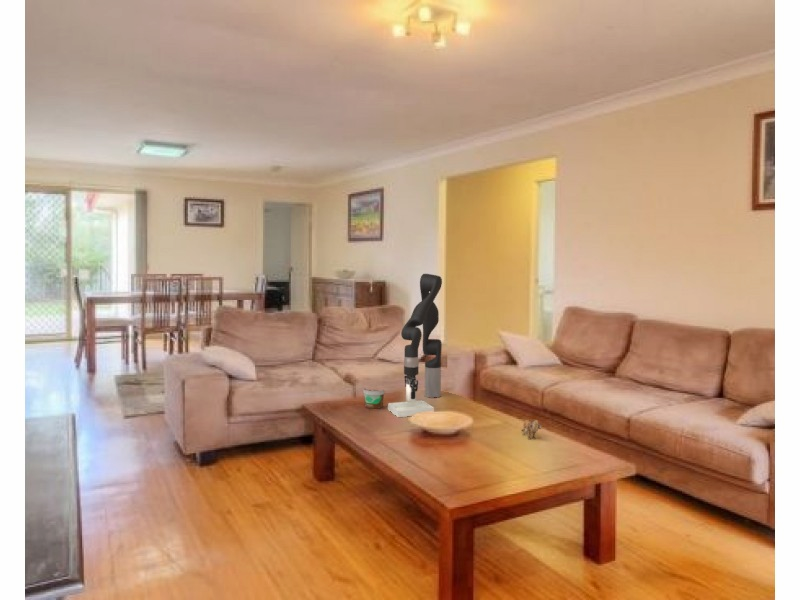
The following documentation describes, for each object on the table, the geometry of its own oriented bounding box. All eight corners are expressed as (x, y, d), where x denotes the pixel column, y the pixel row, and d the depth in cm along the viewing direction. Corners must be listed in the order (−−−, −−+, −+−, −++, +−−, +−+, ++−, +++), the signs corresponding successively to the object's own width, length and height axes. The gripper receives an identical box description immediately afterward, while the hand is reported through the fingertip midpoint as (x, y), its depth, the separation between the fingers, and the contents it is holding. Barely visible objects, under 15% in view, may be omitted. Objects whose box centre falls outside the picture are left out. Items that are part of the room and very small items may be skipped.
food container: (359, 408, 295) (359, 390, 294) (364, 405, 301) (364, 387, 300) (380, 411, 290) (380, 392, 290) (385, 408, 296) (385, 389, 295)
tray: (388, 409, 293) (388, 403, 293) (422, 406, 300) (422, 400, 300) (397, 417, 279) (398, 411, 278) (433, 414, 285) (434, 407, 285)
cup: (404, 400, 290) (404, 383, 289) (413, 399, 292) (413, 382, 291) (408, 402, 285) (408, 385, 285) (417, 401, 287) (417, 384, 286)
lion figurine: (542, 441, 244) (543, 421, 244) (532, 442, 243) (532, 422, 242) (526, 431, 258) (526, 412, 258) (516, 432, 257) (516, 413, 256)
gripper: (399, 363, 293) (399, 395, 294) (409, 368, 279) (409, 401, 280) (412, 362, 295) (412, 393, 296) (423, 367, 282) (423, 400, 283)
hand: (411, 397), depth 288 cm, fingers closed on cup, 5 cm apart
